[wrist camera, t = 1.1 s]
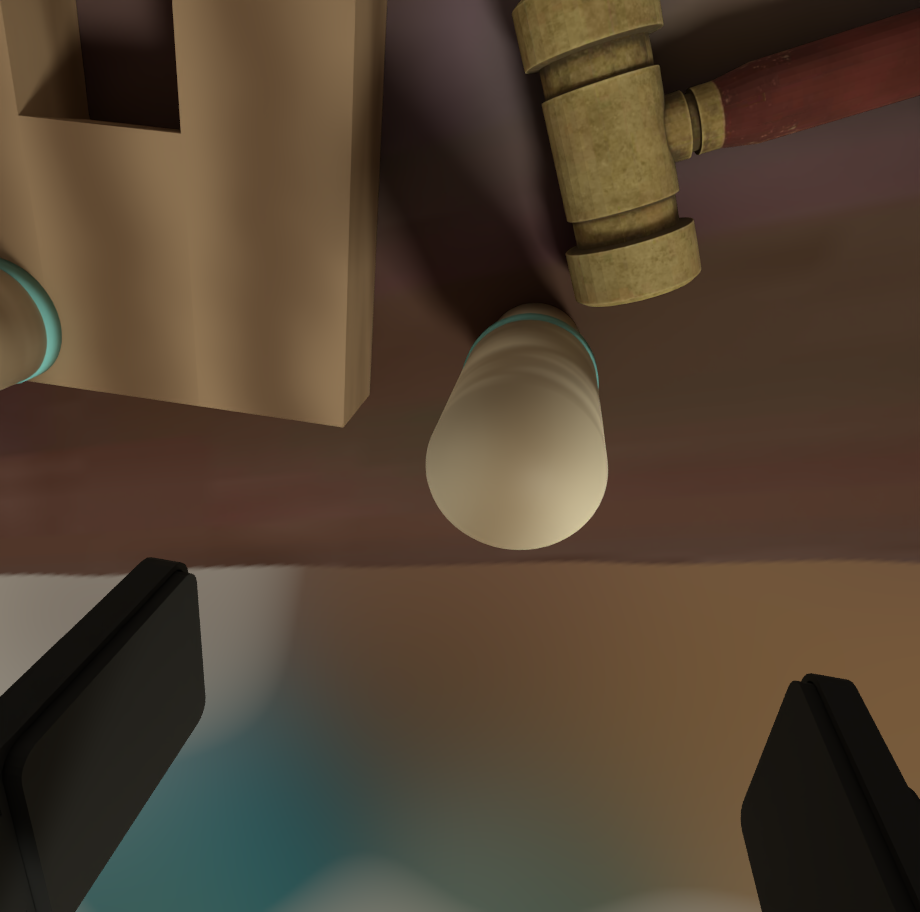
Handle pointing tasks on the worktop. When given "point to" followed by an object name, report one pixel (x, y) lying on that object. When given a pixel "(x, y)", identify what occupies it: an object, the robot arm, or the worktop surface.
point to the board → (197, 211)
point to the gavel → (677, 125)
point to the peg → (522, 434)
